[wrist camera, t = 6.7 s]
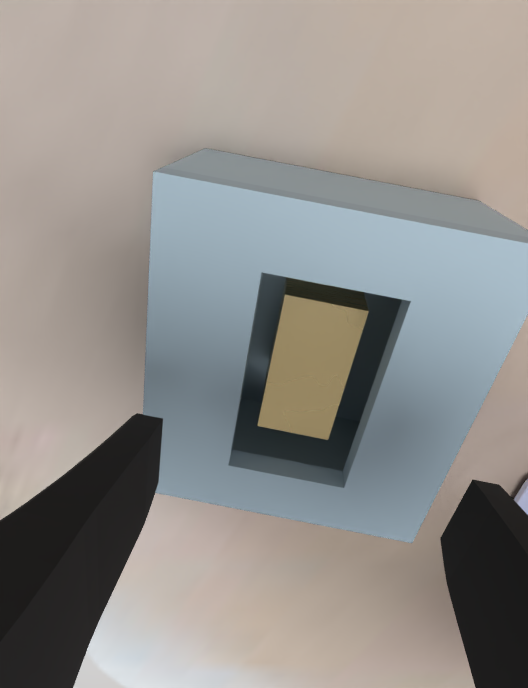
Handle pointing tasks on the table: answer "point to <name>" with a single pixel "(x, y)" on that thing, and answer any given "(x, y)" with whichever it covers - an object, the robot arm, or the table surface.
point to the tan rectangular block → (311, 357)
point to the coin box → (372, 352)
